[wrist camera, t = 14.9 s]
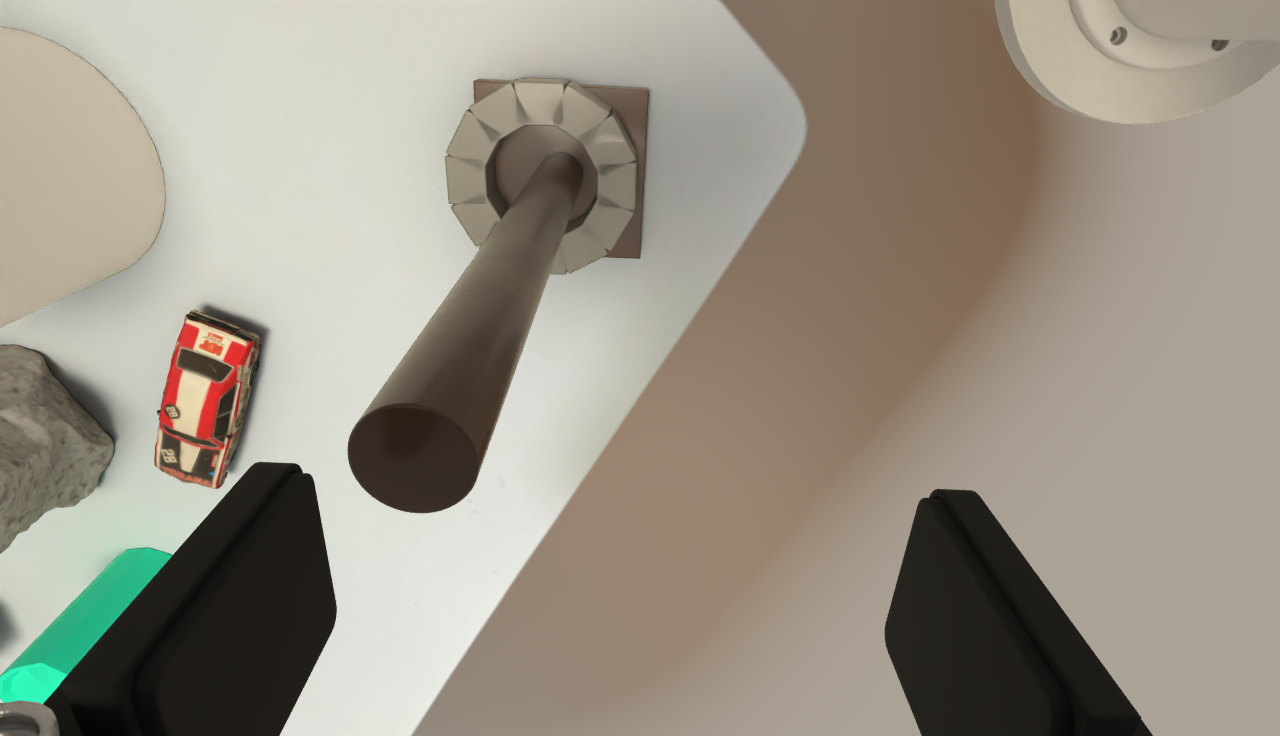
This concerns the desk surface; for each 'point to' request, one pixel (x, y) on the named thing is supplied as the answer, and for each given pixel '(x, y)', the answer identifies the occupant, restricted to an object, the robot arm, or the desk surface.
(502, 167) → the post
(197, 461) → the race car
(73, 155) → the canister
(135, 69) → the desk surface
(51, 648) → the candle
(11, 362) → the decorative stone
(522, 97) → the grey faceted ring
